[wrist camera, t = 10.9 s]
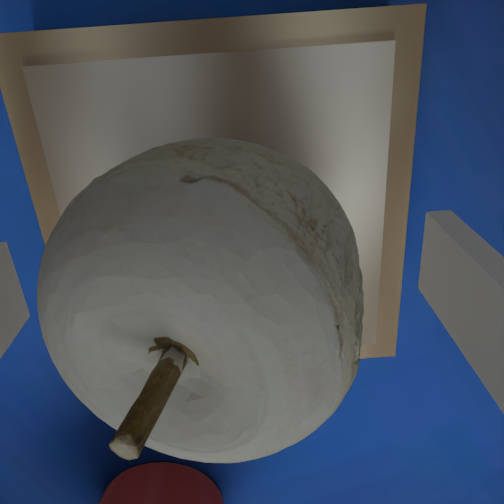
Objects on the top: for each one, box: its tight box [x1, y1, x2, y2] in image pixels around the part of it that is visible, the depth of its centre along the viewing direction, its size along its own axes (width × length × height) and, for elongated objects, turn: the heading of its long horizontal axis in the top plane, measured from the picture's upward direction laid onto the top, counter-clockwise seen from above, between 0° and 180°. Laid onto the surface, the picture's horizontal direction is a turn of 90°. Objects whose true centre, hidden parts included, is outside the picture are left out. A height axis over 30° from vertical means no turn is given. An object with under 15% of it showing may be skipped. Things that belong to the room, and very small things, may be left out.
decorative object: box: [37, 138, 364, 463], centre depth 13 cm, size 9×9×10 cm
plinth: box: [0, 3, 427, 359], centre depth 20 cm, size 14×14×4 cm
